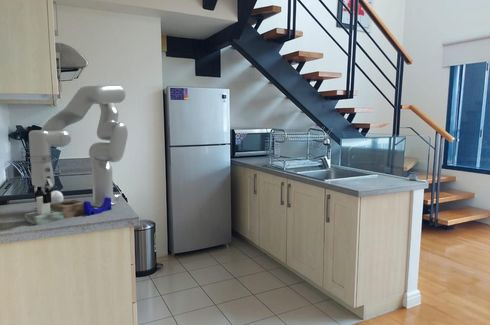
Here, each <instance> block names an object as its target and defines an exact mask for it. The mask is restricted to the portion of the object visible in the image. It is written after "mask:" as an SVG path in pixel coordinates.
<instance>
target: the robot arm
mask: <svg viewBox="0 0 490 325" xmlns="http://www.w3.org/2000/svg"><path fill="white" fill-rule="evenodd" d="M125 99H126V91H125V89H124V88H123V87H122V86H120V85H118V84H117V85H116V84H115V85H84V86H81V87H80V88H79V89H78V90H77V91H76V92H75V94H74V95H73V97H72V98H71V100H70V101H69V102H68V104H67V105H66V106H65V107H64V108H62V110H60V111H59V112H58V113H56V114H55V115H53V116H52V117H50V119H48V120H47V121H46V122H45V124H44V125H43V126H42V128H41V129H40V130H39V129H37V130H35V129H34V130H30V131H29V133H28V143H29V144H28V145H29V158H30V159H29V160H30V161H29V162H30V165H31V167H30V168H31V169H30V176H31V177H30V178H31V184H32V186H33V188H32V189H33V192H34V201H35V202H36V203H37V199H36V197H41V196H43V203H44V204H46V203H51V193H52V192H53V191H52V190H53V189H54V186H55V175H54V169H53V165H52V164H53V163H52V154H51V153H52V152H51V149H52V148H51V147H57V148H59V147H60V148H62V147H66V146H68V145H69V143H70V142H71V139H72V137H71V134H70V133H69V132H68V131H66V130H65V128H67V127H68V126H70V125H73V124H77V123H78V122H81V121H82V120H83V119H84V118H85V116H86V114H88V111H89V110H90V109H91V107H92V106H93V105H98V106H99V109H100V115H99V116H100V117H99V120H98V125H97V129H96V136H97V138H98V139H100V140H101V141H102V142H101V141H100V142H99V141H98V142H94V143H92V144H91V145H90V147H89V149H88V156H89V160H90V164H91V180H92V181H91V182H92V201H90V202H91V206H92V207H93V208H94V207H95V208H99V207H100V206H102V204H103V203H104V199H105V197H109V198H111V206H115V205H116V204H117V202H118V201H117V199H119V198H122V194H121V193H118V194H114V188H113V187H114V183H113V180H114V179H113V168H112V167H113V166H112V165H111V163H117V162H120V161H121V160H122V158H123V156H124V153H125V150H126V145H127V141H128V136H129V132H128V128H127V125H126V124H125V123H123V122H122V121H121V122H120V121H118V120H119V110H118V107H117V105H116V104H121V103H122V102H123V101H124V100H125ZM103 141H109V142H103Z"/></svg>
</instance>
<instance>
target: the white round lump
mask: <svg viewBox="0 0 490 325" xmlns="http://www.w3.org/2000/svg"><path fill="white" fill-rule="evenodd" d="M51 192H52V193H51V203H50V204H55V203H60V202H64V194H63V193H62V192H61V191H60V190H53V191H51ZM50 207H51V205H50Z"/></svg>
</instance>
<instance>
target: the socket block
mask: <svg viewBox="0 0 490 325" xmlns="http://www.w3.org/2000/svg"><path fill="white" fill-rule="evenodd" d="M50 205H51V206H50V214H45V215H38V214H37V211H33V212H28V213H24V214H23V215H24V221H25V222H27V223H30V224H34V225H36V226H38V225H42V224H46V223H52V222H56V221H61V220H64V219H68V218H72V217H76V216H77V217H78V216H81V215H85V214H84V201H82V200H76V199H72V200H65V201H62V202H60V203H55V204H50Z"/></svg>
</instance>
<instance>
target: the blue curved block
mask: <svg viewBox="0 0 490 325" xmlns="http://www.w3.org/2000/svg"><path fill="white" fill-rule="evenodd" d="M83 202H84V214H83V215H86V216H95V215H98V214H102V213H103V212H107V211H112V205H111V198H109V197H105V199H104V203H103V204H102V206H100V207H95V208H94V207H93V206H91V202H92V201H88V200H84V201H83Z"/></svg>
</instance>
